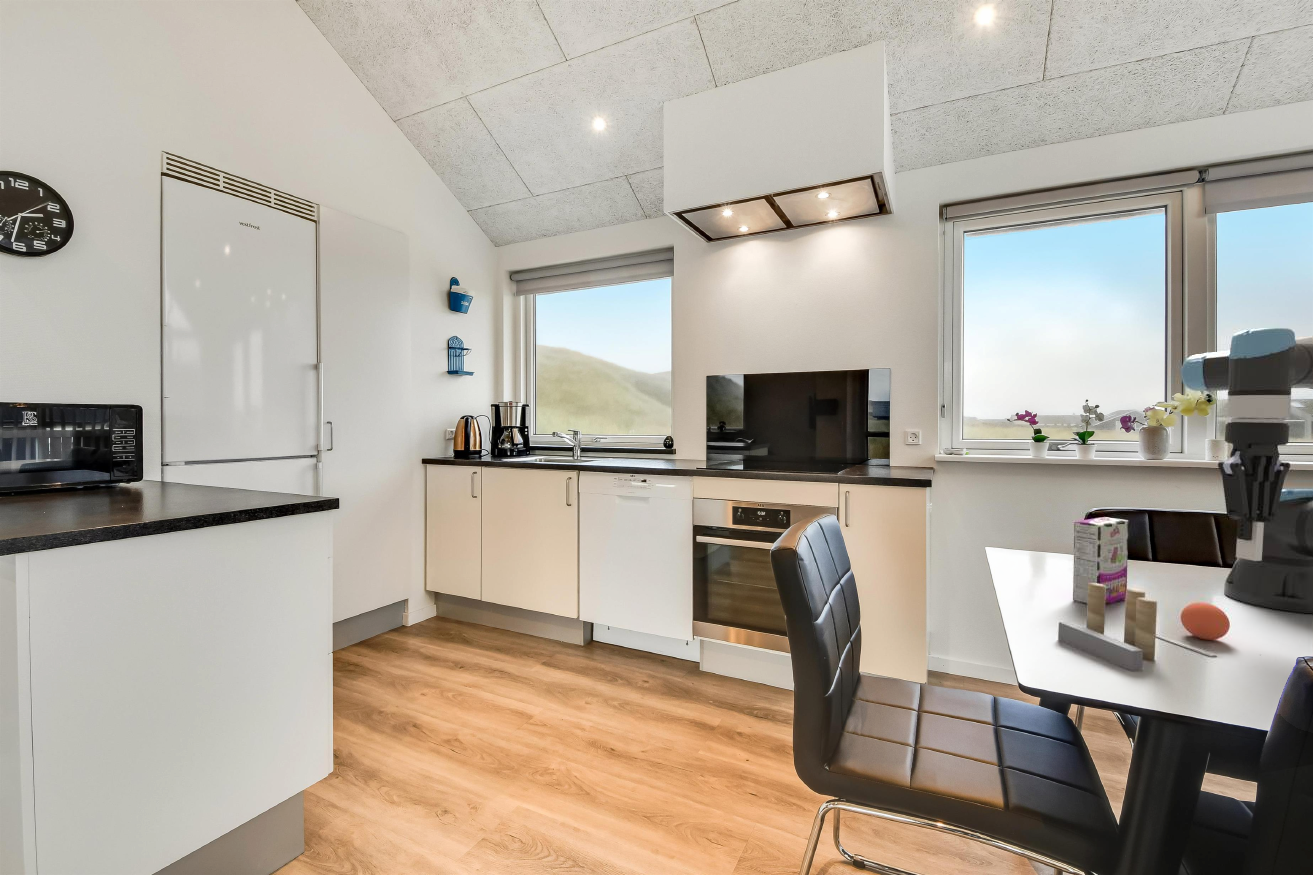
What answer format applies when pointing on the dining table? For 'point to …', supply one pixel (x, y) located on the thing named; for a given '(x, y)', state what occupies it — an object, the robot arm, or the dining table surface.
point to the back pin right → (1096, 607)
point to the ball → (1205, 621)
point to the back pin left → (1146, 627)
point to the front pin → (1131, 614)
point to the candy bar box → (1100, 557)
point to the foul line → (1185, 646)
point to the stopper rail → (1101, 645)
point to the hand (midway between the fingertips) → (1248, 558)
